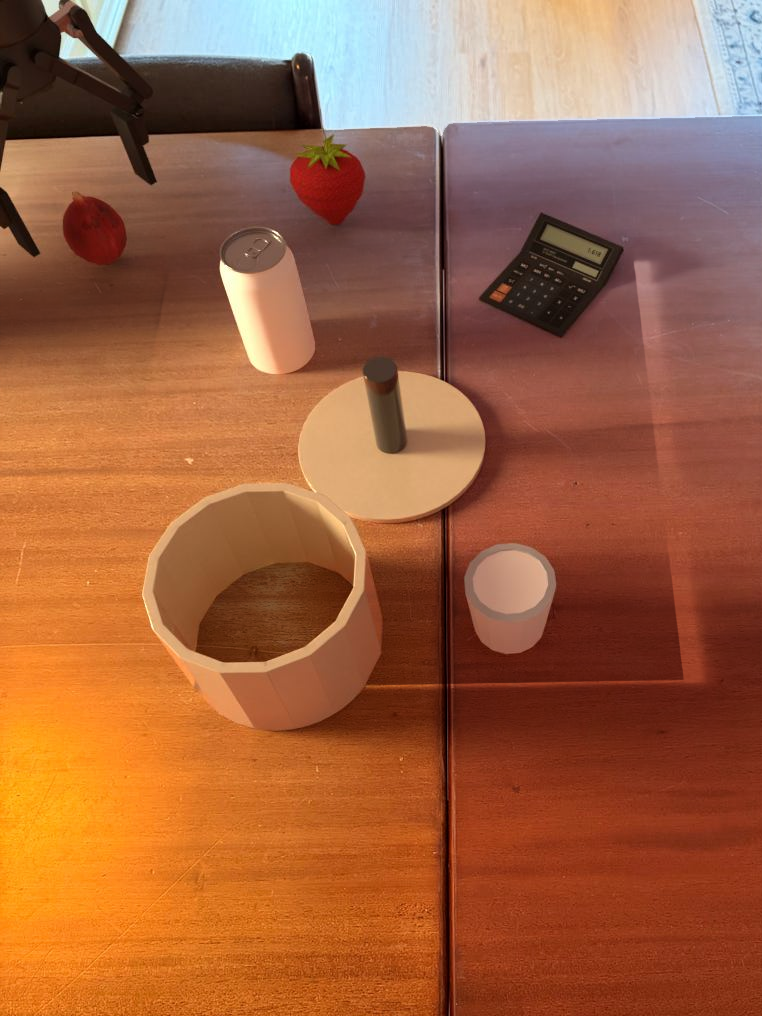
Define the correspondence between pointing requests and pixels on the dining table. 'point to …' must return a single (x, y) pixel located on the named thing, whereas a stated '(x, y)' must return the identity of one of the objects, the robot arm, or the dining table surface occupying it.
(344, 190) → the strawberry
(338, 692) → the pot
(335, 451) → the pot lid
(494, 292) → the calculator
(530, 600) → the shot glass
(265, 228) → the can
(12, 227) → the robot arm
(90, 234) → the onion
